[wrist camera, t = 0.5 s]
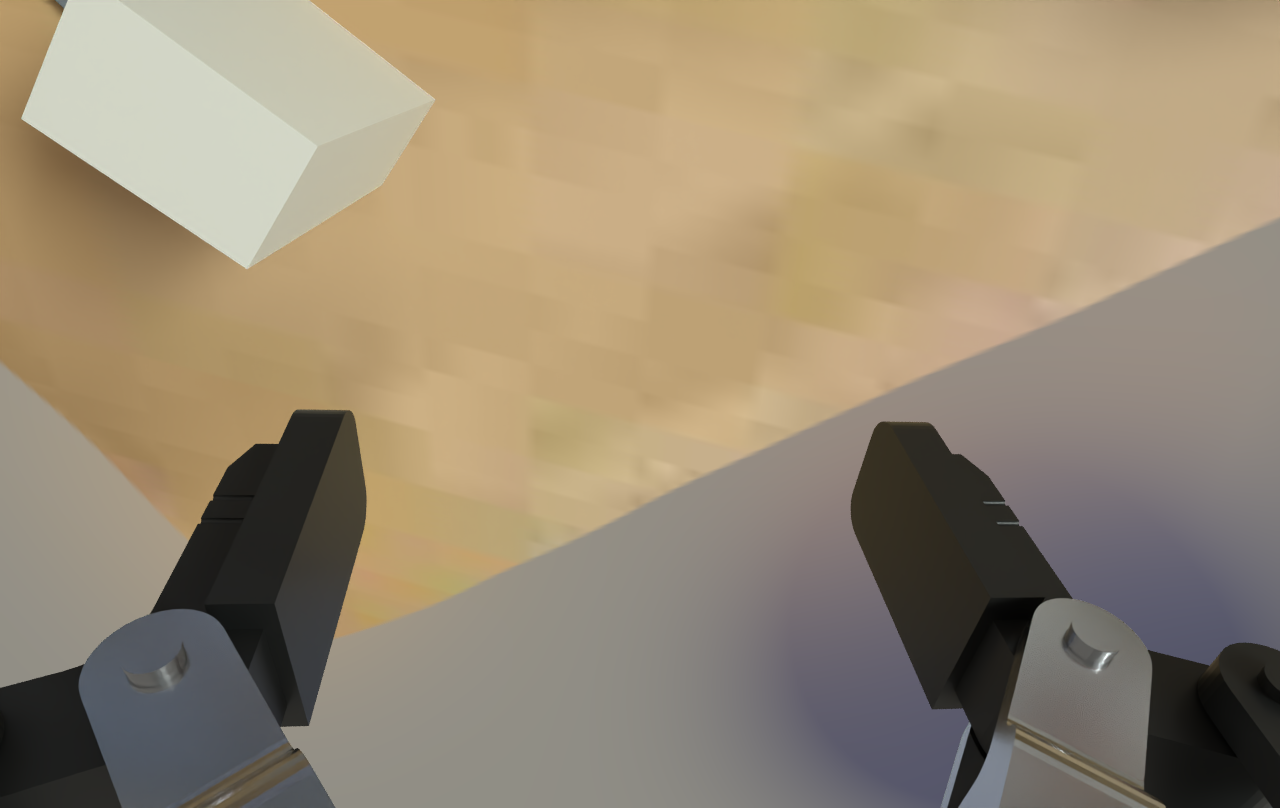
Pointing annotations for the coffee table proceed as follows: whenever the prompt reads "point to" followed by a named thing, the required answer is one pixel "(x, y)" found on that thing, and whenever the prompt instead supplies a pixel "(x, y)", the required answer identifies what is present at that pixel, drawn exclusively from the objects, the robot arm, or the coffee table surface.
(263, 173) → the tall cream pillar block
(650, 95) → the coffee table surface
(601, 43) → the coffee table surface
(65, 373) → the coffee table surface
